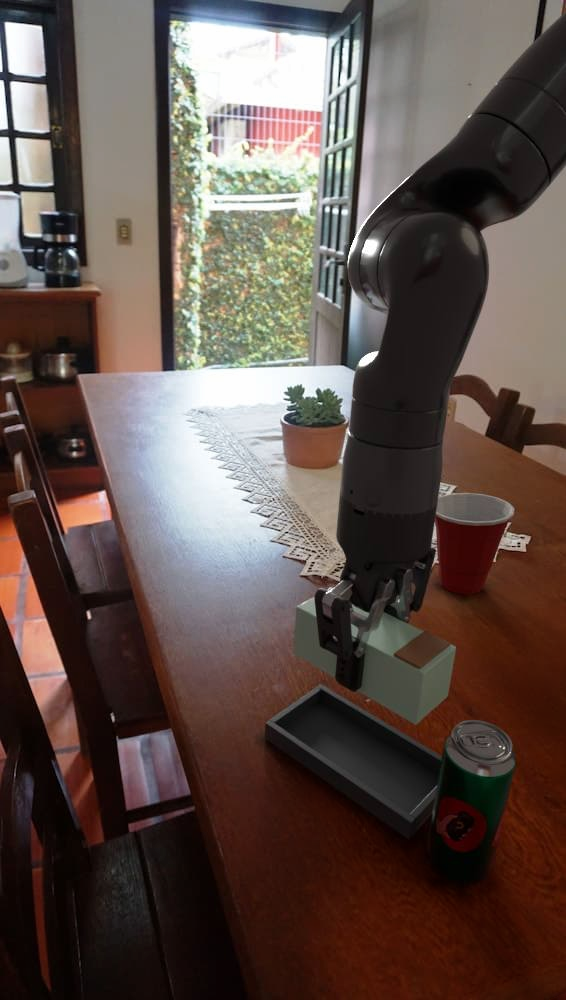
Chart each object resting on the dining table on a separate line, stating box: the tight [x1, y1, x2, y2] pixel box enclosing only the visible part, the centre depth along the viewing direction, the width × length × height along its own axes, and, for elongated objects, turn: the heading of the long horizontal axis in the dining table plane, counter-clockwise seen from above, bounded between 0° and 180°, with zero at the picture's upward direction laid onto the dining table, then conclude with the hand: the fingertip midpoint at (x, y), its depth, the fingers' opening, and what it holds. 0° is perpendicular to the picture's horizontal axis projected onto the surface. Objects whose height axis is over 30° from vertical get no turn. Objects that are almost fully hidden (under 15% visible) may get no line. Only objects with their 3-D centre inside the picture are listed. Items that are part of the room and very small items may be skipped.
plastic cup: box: [434, 492, 515, 595], centre depth 92 cm, size 11×11×12 cm
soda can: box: [426, 719, 517, 885], centre depth 51 cm, size 5×5×12 cm
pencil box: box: [293, 587, 457, 726], centre depth 58 cm, size 13×5×5 cm, turn 47°
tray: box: [264, 683, 442, 841], centre depth 62 cm, size 8×16×2 cm, turn 47°
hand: (368, 670), depth 59 cm, fingers closed on pencil box, 5 cm apart
